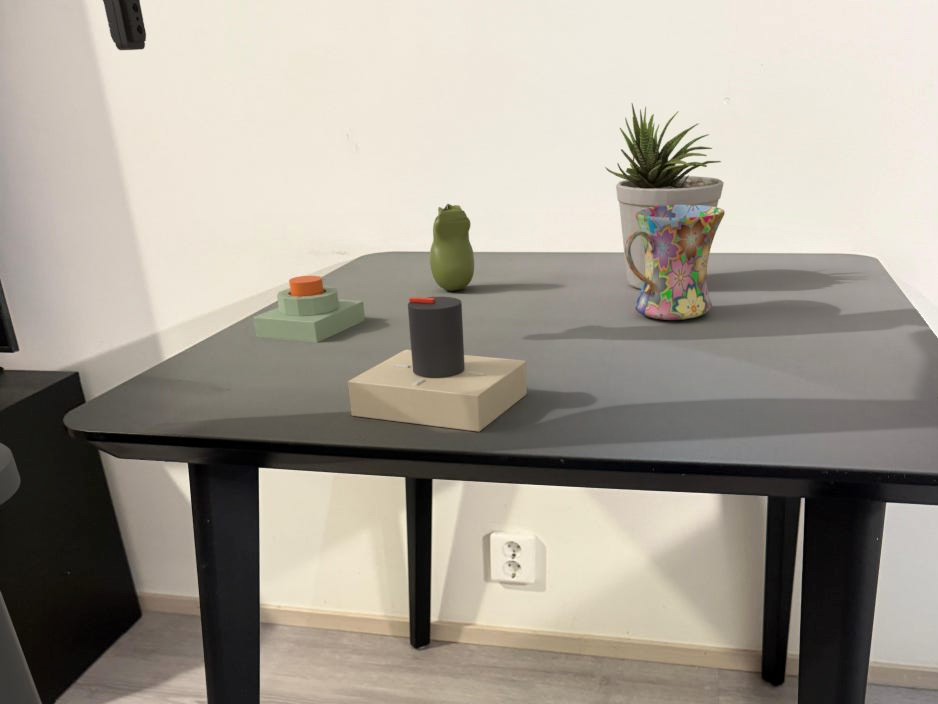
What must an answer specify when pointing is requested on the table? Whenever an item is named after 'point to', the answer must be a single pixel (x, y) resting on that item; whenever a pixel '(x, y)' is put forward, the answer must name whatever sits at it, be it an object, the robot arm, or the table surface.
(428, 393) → the panel
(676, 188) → the potted plant
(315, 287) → the button
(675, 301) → the mug
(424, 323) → the dial
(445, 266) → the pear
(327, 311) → the button block
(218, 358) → the table surface
